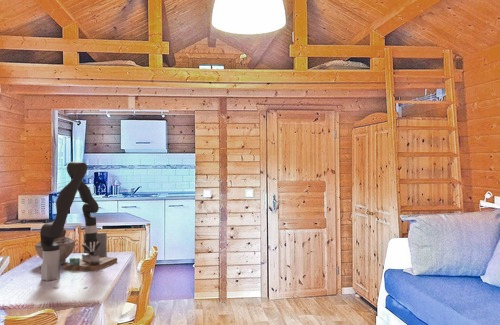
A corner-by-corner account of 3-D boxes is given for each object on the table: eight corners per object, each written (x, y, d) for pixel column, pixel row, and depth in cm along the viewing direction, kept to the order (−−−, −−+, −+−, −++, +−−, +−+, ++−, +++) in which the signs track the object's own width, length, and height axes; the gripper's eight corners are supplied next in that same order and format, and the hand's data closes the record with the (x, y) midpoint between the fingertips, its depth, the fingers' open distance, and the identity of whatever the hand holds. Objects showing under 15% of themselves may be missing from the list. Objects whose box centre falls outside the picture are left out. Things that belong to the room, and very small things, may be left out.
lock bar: (100, 263, 260) (100, 256, 260) (93, 265, 257) (92, 257, 257) (88, 258, 275) (88, 251, 275) (80, 260, 271) (80, 252, 271)
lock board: (117, 262, 278) (116, 251, 278) (94, 271, 254) (94, 260, 254) (88, 260, 284) (87, 250, 284) (63, 269, 260) (63, 258, 260)
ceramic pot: (81, 263, 276) (80, 228, 276) (43, 270, 258) (42, 233, 258) (66, 257, 293) (66, 225, 293) (29, 264, 275) (29, 229, 275)
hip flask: (107, 255, 298) (106, 229, 298) (106, 256, 294) (106, 229, 294) (84, 257, 294) (83, 230, 294) (83, 258, 290) (83, 231, 290)
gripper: (83, 233, 266) (84, 259, 266) (102, 231, 275) (103, 256, 276) (79, 232, 271) (79, 257, 271) (97, 229, 281) (98, 254, 281)
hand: (91, 256), depth 273 cm, fingers closed
